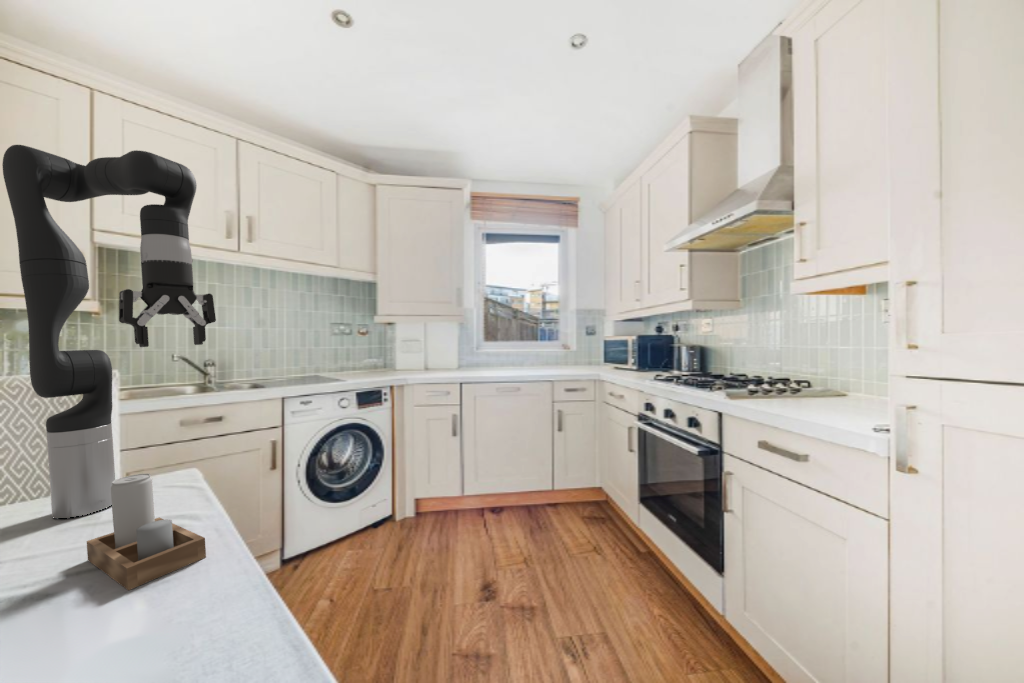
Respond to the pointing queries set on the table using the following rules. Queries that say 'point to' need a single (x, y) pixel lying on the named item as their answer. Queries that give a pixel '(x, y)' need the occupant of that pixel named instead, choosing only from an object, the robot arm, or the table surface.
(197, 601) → the table surface
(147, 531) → the stub
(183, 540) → the rack
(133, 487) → the beverage can
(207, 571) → the table surface
